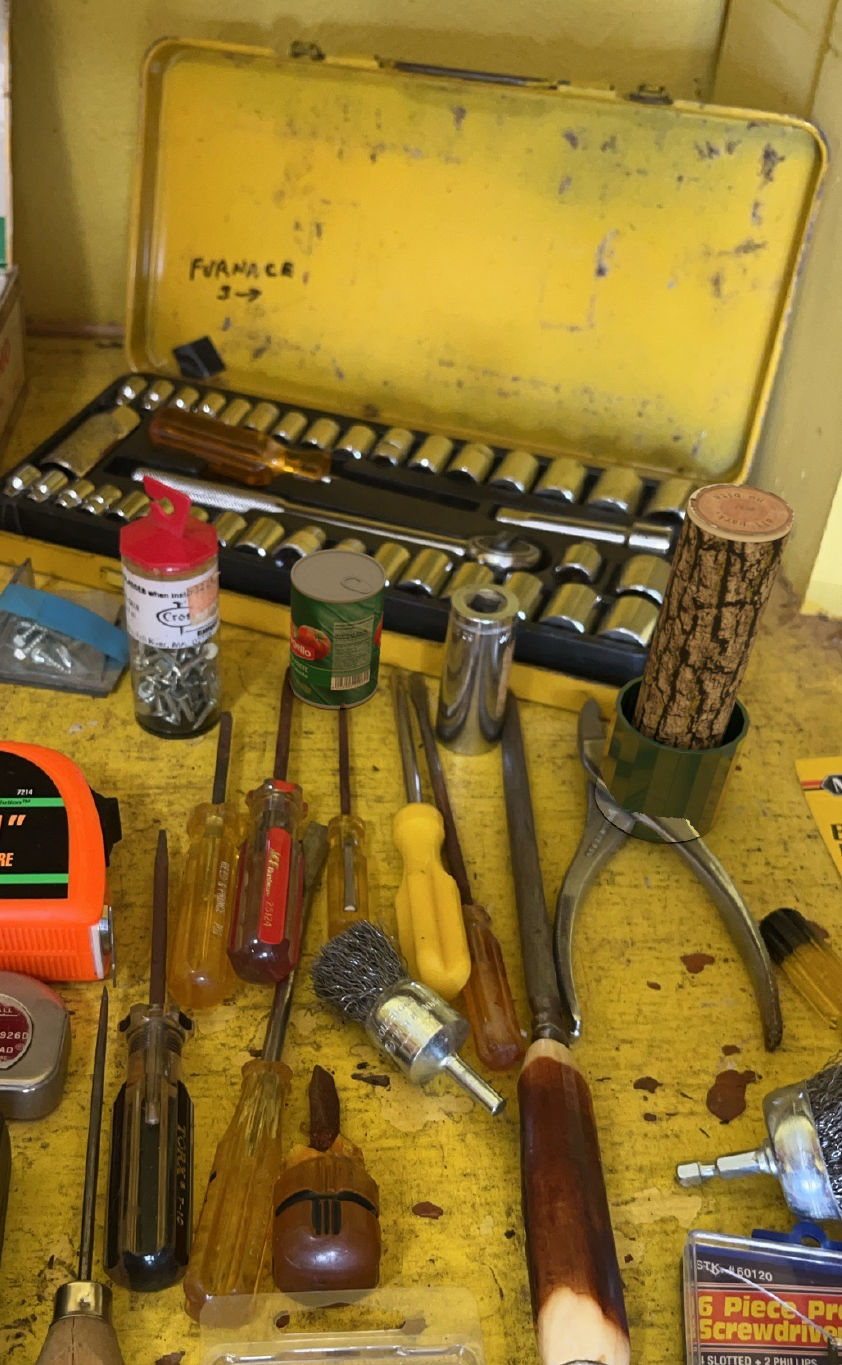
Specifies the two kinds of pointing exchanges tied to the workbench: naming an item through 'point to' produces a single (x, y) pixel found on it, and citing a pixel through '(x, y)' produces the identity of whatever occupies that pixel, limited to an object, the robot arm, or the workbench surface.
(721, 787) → the tool cup
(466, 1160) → the workbench surface
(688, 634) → the paper tube
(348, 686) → the canned tomato
